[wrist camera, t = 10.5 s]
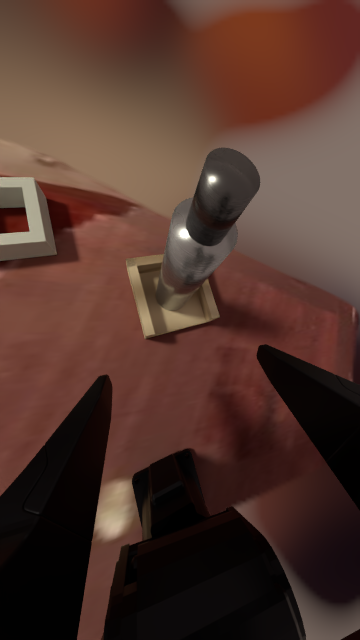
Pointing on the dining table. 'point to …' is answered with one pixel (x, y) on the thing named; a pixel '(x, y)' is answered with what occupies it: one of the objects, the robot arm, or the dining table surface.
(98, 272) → the dining table surface
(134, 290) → the beige square tray
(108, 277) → the dining table surface
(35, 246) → the socket block
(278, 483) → the dining table surface
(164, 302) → the silver and grey cylinder
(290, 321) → the dining table surface
